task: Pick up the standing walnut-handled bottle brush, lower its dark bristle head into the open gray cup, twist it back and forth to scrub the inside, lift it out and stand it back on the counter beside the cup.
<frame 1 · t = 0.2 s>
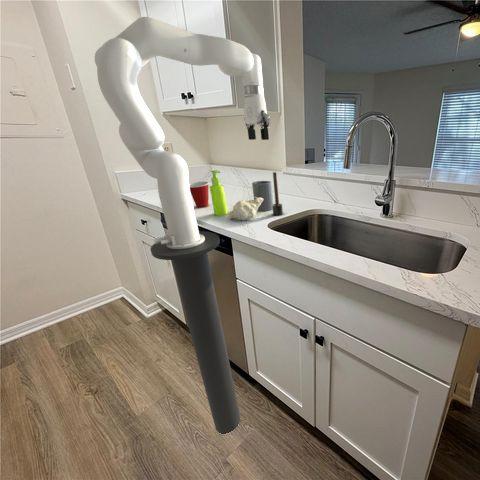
hand: (258, 139, 107), 32 cm above the worktop, tool pointing down, fingers open, 9 cm apart
soap dispenser: (221, 214, 122), on the worktop
cream spiral shell: (248, 217, 117), on the worktop
gray cup: (264, 208, 130), on the worktop
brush: (278, 214, 120), on the worktop
plastic cup: (202, 206, 136), on the worktop
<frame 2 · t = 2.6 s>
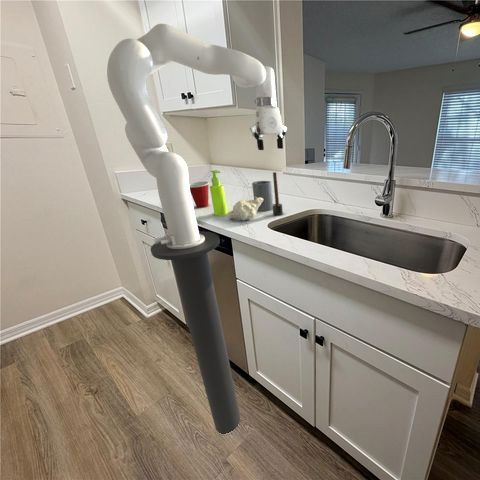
hand: (270, 149, 109), 29 cm above the worktop, tool pointing down, fingers open, 9 cm apart
nothing on the worktop moved.
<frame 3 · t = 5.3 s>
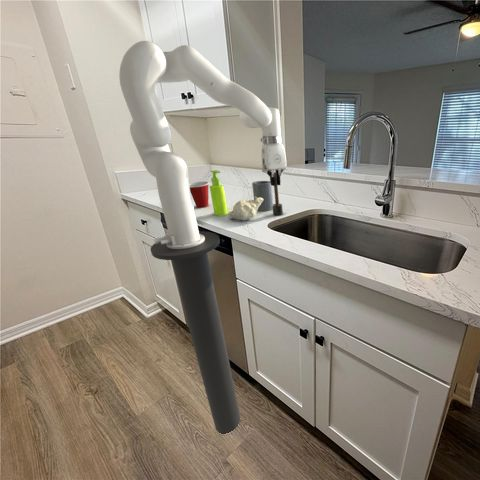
hand: (275, 185, 115), 14 cm above the worktop, tool pointing down, fingers closed on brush
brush: (278, 214, 120), on the worktop, touching gripper
everything else where it was.
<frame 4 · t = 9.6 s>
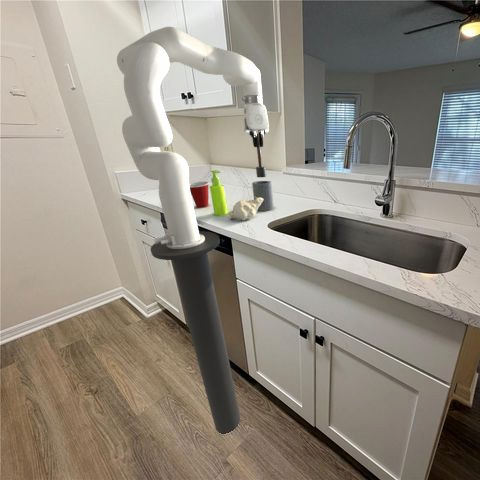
hand: (258, 146, 118), 29 cm above the worktop, tool pointing down, fingers closed on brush
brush: (261, 176, 124), point 16 cm above the worktop, touching gripper
everything else where it was.
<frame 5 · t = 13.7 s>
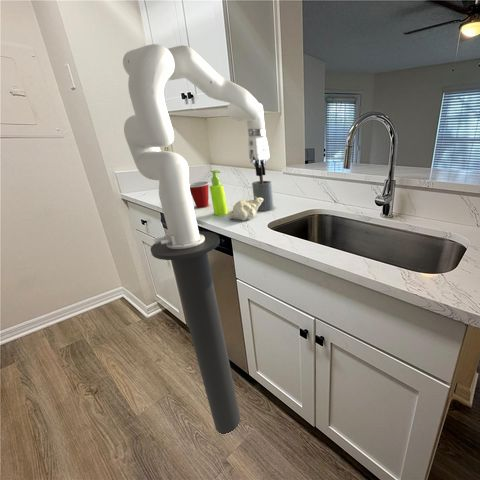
hand: (260, 175, 123), 16 cm above the worktop, tool pointing down, fingers closed on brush
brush: (263, 203, 128), point 3 cm above the worktop, touching gripper
everything else where it was.
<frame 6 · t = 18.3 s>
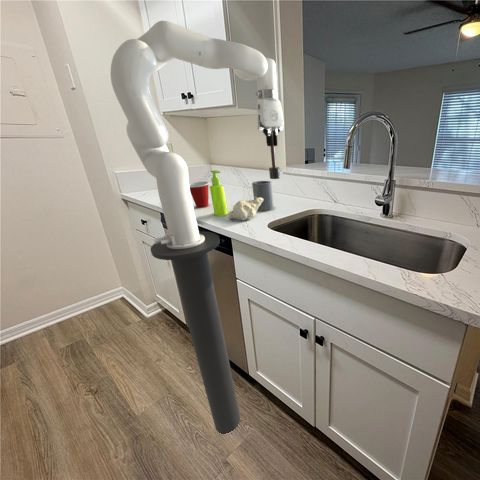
hand: (272, 145, 109), 30 cm above the worktop, tool pointing down, fingers closed on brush
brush: (274, 178, 114), point 16 cm above the worktop, touching gripper
everything else where it was.
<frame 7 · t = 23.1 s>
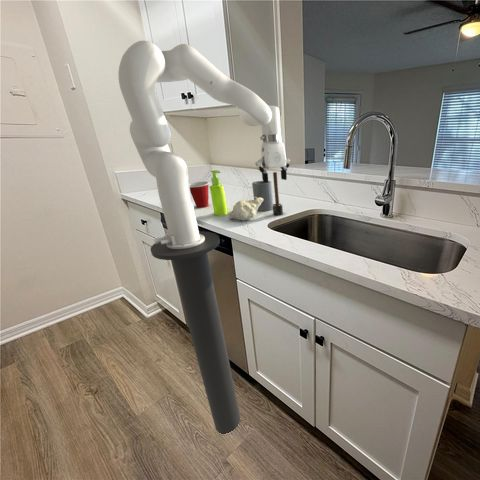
hand: (275, 180, 114), 15 cm above the worktop, tool pointing down, fingers open, 9 cm apart
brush: (278, 214, 120), on the worktop
everything else where it was.
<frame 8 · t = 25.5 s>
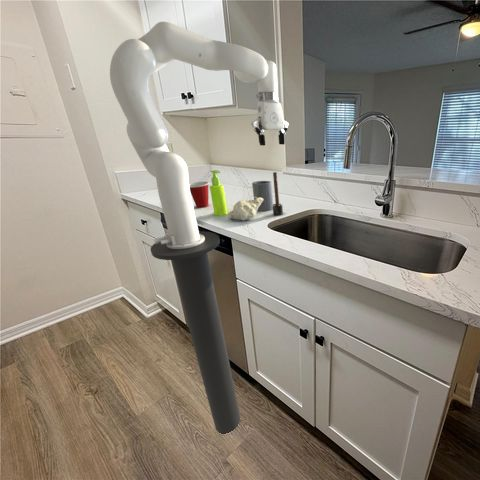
hand: (272, 144, 109), 30 cm above the worktop, tool pointing down, fingers open, 9 cm apart
nothing on the worktop moved.
at the end: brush inside the target area (0.1 cm from its centre), on the worktop; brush tilted 0°; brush touching worktop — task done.
